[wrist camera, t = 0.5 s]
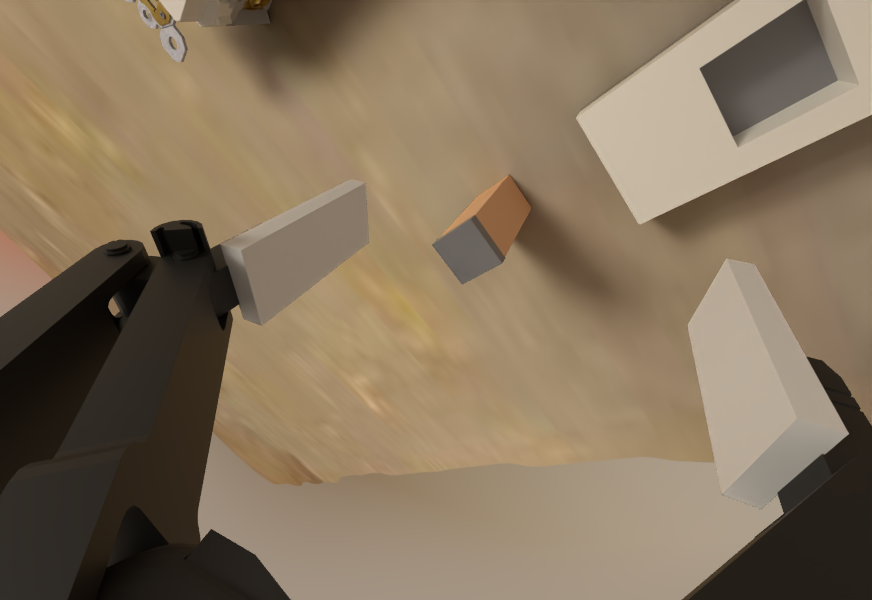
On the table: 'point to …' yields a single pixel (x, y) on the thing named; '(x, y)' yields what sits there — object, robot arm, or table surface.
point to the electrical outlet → (199, 17)
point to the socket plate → (733, 98)
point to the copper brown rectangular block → (484, 231)
